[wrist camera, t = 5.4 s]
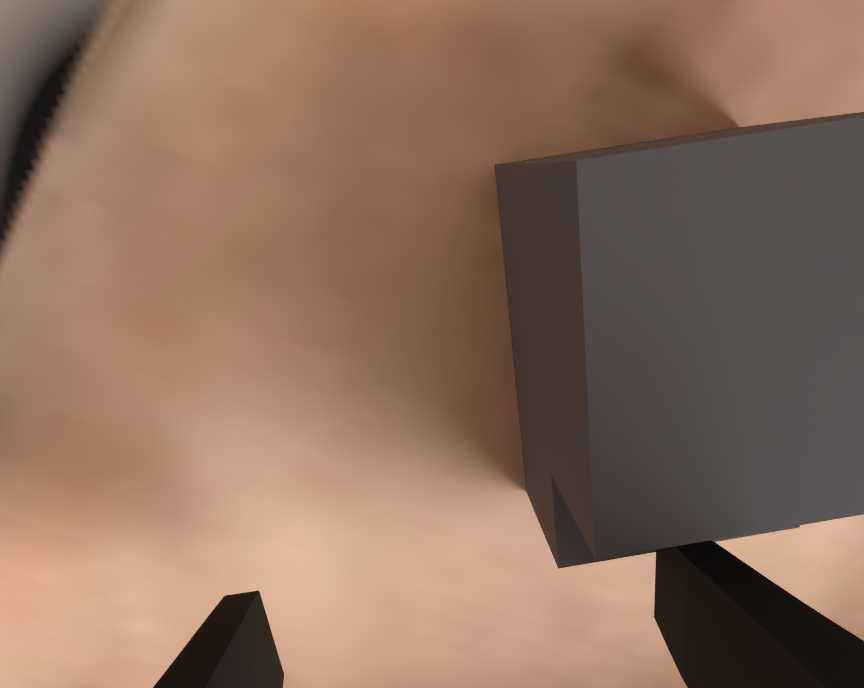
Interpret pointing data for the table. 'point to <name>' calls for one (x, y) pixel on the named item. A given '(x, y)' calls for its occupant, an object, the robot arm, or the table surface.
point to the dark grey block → (689, 335)
